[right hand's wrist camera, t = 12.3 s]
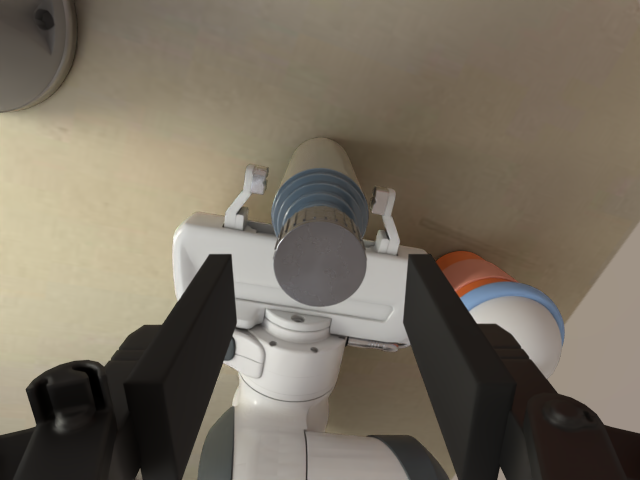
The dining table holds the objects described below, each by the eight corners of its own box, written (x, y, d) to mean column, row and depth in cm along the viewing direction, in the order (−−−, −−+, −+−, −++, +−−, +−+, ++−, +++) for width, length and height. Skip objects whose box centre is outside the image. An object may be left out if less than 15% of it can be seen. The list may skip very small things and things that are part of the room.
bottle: (282, 188, 37) (240, 300, 17) (299, 129, 35) (273, 180, 15) (339, 205, 37) (360, 333, 18) (358, 147, 35) (405, 220, 16)
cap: (267, 271, 19) (261, 294, 17) (290, 193, 17) (286, 207, 15) (346, 293, 19) (350, 318, 17) (374, 218, 18) (381, 235, 16)
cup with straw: (524, 273, 39) (677, 411, 23) (456, 335, 42) (548, 502, 25) (458, 216, 37) (571, 321, 21) (390, 285, 40) (442, 430, 23)
